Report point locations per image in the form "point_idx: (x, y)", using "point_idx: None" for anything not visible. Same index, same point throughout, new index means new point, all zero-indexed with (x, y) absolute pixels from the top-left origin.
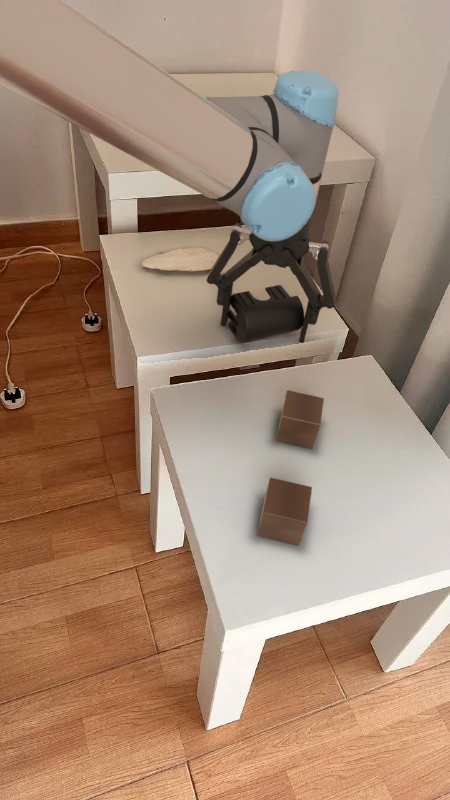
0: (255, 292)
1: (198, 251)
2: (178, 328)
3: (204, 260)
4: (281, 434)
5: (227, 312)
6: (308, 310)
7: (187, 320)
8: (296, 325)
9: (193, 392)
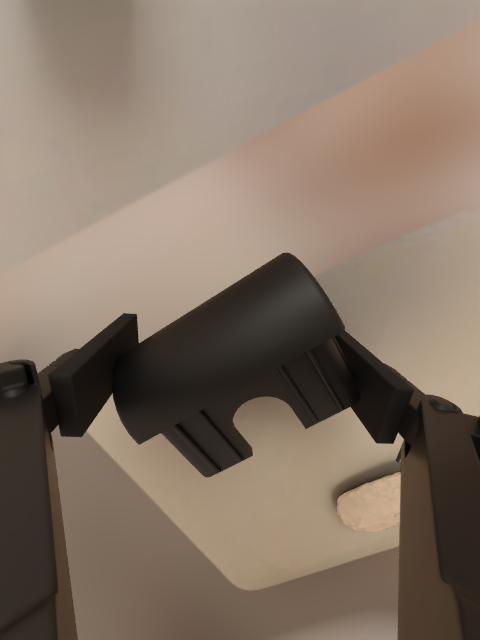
0: (259, 452)
1: (383, 523)
2: (431, 303)
3: (374, 505)
4: None
5: (345, 349)
6: (67, 372)
7: (407, 335)
8: (139, 344)
9: (416, 28)
